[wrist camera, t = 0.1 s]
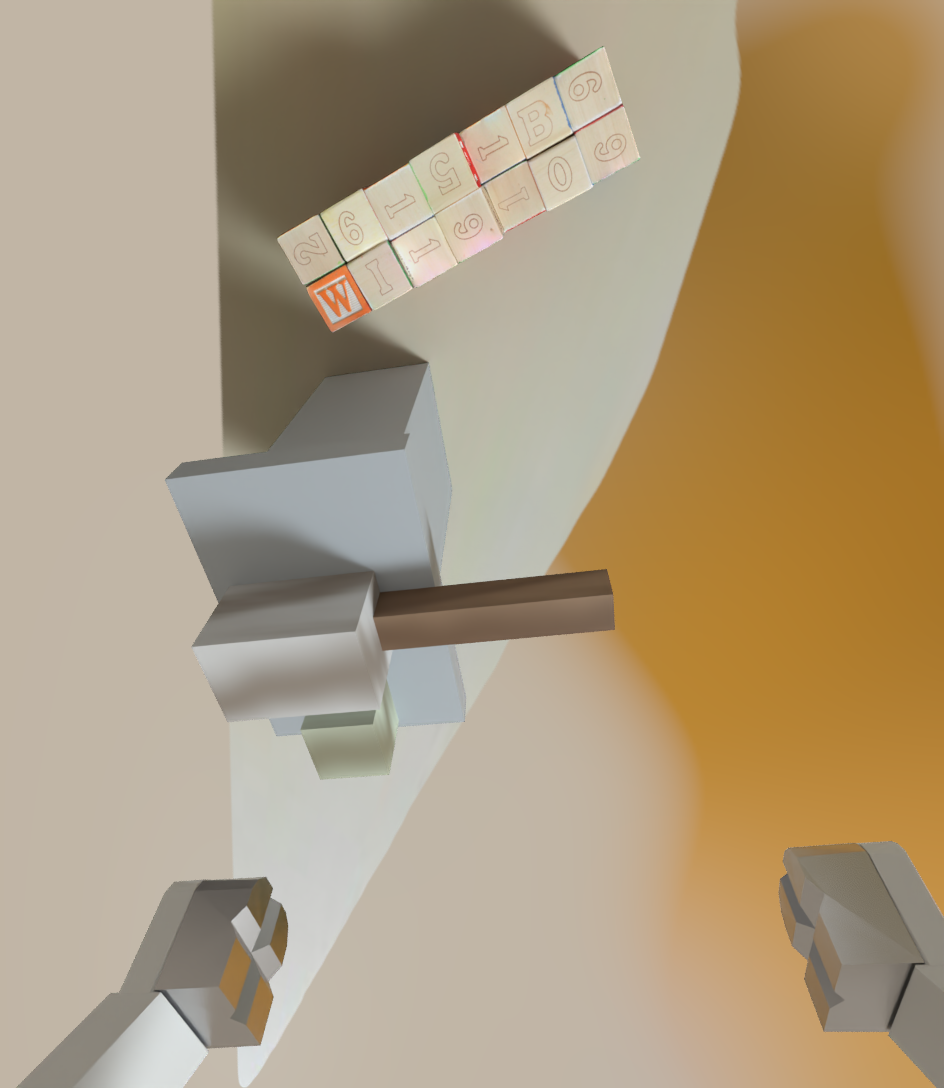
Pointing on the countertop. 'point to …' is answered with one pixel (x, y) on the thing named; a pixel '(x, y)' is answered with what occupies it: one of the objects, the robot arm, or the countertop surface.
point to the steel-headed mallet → (370, 634)
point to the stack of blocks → (464, 193)
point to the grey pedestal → (339, 513)
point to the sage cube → (353, 741)
